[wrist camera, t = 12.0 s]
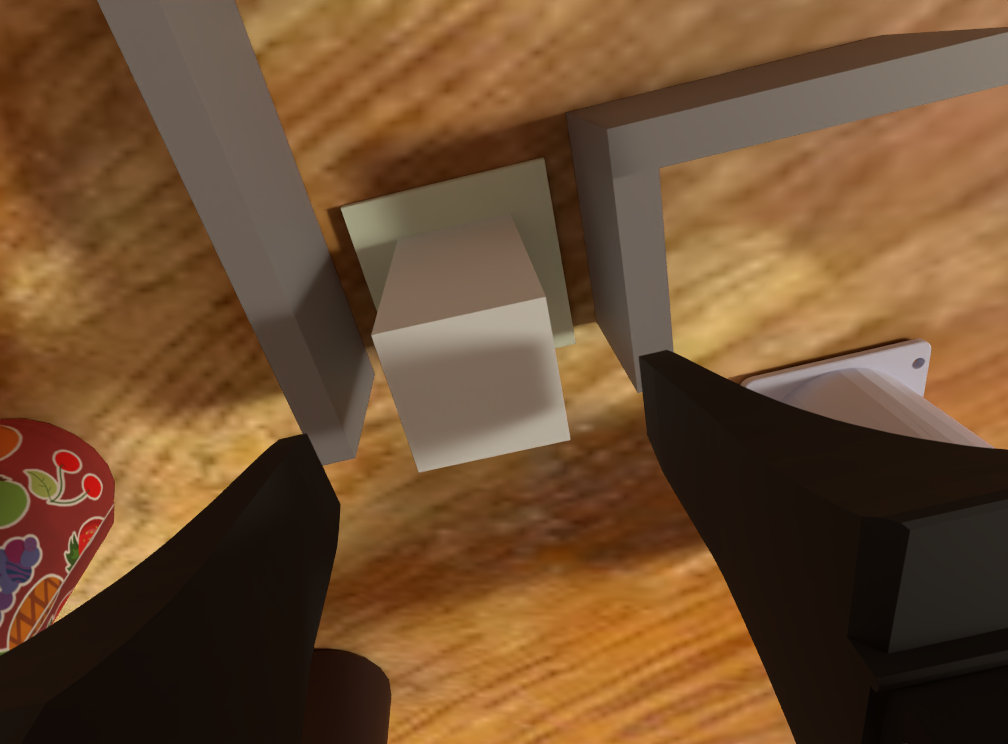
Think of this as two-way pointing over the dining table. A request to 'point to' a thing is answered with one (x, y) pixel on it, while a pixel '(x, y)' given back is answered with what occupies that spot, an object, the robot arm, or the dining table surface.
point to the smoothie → (46, 522)
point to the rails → (596, 158)
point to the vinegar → (346, 700)
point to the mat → (465, 203)
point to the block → (469, 346)
